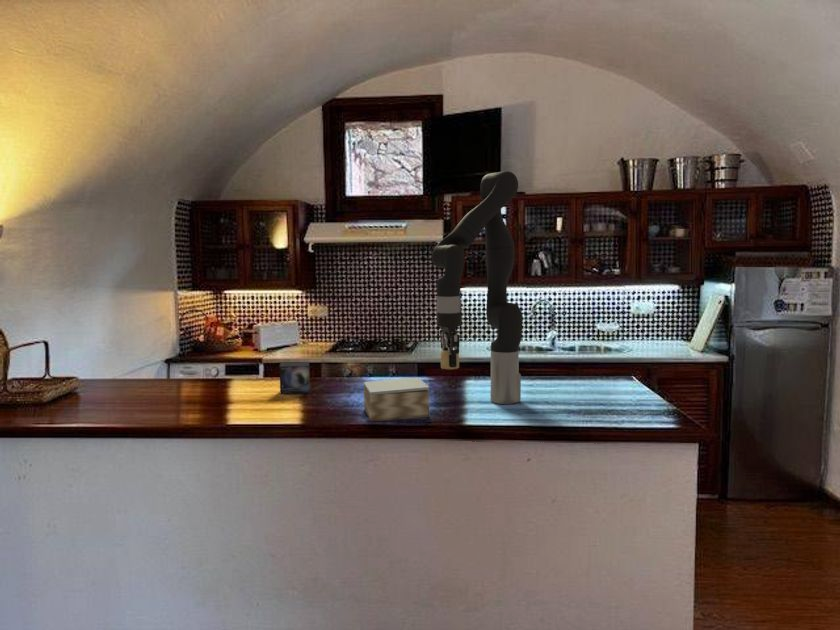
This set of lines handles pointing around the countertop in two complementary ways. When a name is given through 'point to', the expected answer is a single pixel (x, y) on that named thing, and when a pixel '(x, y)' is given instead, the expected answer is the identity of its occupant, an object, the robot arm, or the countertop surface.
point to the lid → (395, 386)
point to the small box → (294, 378)
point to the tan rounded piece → (447, 360)
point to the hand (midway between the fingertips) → (449, 364)
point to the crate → (396, 405)
